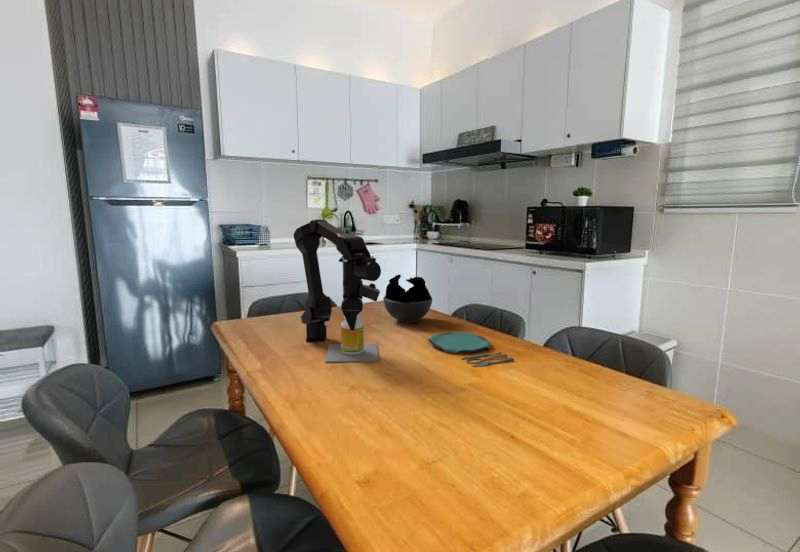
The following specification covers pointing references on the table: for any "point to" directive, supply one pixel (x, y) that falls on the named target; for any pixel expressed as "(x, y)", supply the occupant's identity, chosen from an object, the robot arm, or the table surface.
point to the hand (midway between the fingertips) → (352, 326)
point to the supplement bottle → (352, 337)
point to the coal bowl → (407, 299)
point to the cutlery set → (465, 346)
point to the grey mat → (366, 356)
